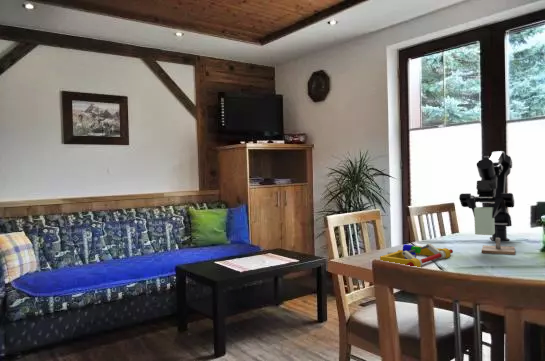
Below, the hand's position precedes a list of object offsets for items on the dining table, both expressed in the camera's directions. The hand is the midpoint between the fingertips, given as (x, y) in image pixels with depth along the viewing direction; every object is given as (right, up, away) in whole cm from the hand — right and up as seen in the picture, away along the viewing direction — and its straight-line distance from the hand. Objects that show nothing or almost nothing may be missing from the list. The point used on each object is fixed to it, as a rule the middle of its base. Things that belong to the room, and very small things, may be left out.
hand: (483, 217), depth 161 cm
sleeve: (+1, -7, +1) cm, 7 cm away
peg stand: (+6, -13, +1) cm, 15 cm away
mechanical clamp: (-29, -16, -6) cm, 33 cm away
